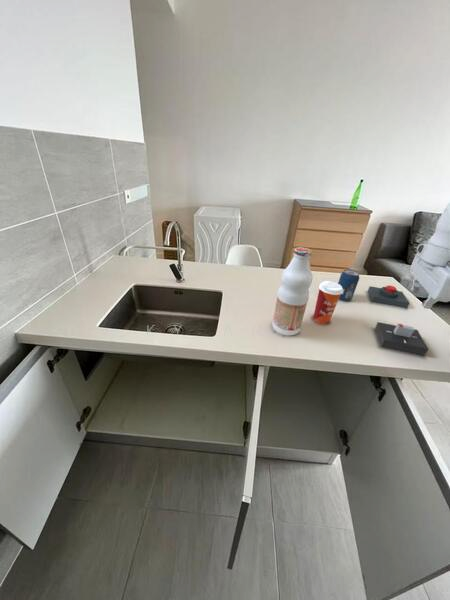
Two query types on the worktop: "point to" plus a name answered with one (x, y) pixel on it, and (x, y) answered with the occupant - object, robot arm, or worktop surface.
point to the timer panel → (400, 340)
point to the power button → (390, 289)
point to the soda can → (348, 284)
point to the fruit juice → (293, 293)
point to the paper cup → (327, 301)
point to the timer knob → (403, 330)
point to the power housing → (387, 297)
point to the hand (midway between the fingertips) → (419, 299)
